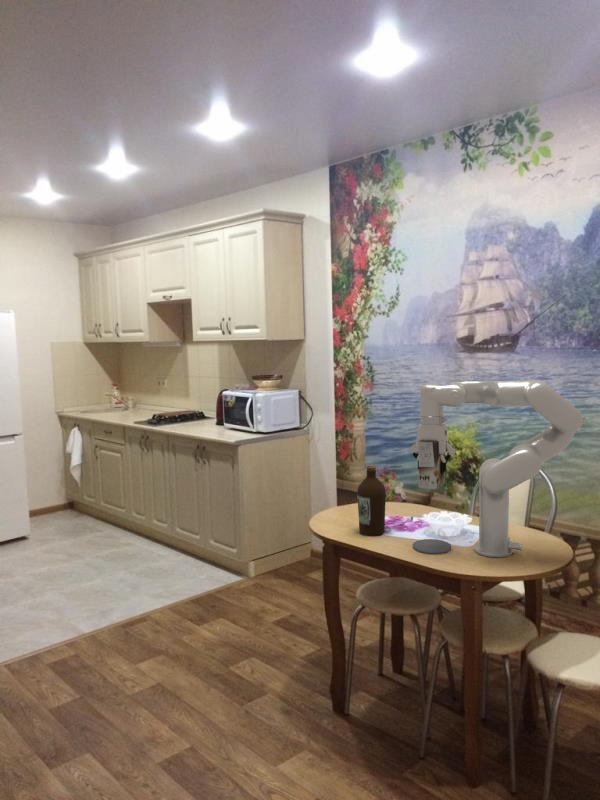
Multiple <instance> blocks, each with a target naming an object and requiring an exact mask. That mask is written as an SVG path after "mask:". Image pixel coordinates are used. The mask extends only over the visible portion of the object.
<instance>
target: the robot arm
mask: <svg viewBox="0 0 600 800" xmlns="http://www.w3.org/2000/svg"><path fill="white" fill-rule="evenodd" d="M419 391H420V392H419V393H420V397H419V398H420V399H419V401H420V402H419V403H420V405H419V407H420V410H419V411H420V413H419V415H420V417H419V418H420V423H419V424H418V425H417V427H418V428H417V433H416V442H415V443H414V444H412V445H411V446H410V447H409V448H408V451H409V452H410V454H411V455H412V456H413V458H415V460H416V461H417V470H418V471H419V441H420V440H425V441H426V440H427V441H439V454H440V458H441V460H442V462H441V474H444V473H445V472H447V461H448V460H449V459H451V458H452V457H453V456H454V454H455V453H456V452H457V450H455V449H454V447H452V446H451V444H449V441H448V439H449V437H448V429H447V425H446V424H444V423H447V422H448V417H445V416H444V407H451V408H457V407H460V406H462V405H464V404H482V405H483V404H485V405H489V406H493V407H497V408H498V407H499V408H500V407H501V408H503V407H504V408H506V407H508V408H509V407H510V408H511V407H532V409H533V410H535V411H536V413H538V414H539V415H540V416H542V417H543V419H545V420H546V421H547V422H548V423H549V424H548V426H547V427H546V428H545V429H544V430H543V431H541V432H540V433H538V434H536V435H535V436H532V437H531V438H528V439H527V440H525V441H524V442H522V443H519V444H518V445H515V446H514V447H513V448H511V450H510V452H509V453H508V454H509V455H507V456H506V457H504V458H502V459H499V458H494V457H493V458H489V459H486V460H485V461H483V463H482V464H481V465H480V467H479V469H478V470H479V471H478V479H479V480H478V481H479V483H478V484H479V485H478V486H479V487H478V491H479V495H478V496H479V497H478V498H479V499H478V500H479V503H478V504H479V506H478V507H479V509H478V514H479V515H478V517H479V518H478V543H476V544H475V545H474V547H473V551H475V553H477V554H479V555H480V556H485V557H489V558H506V557H510V556H511V555H513V554H512V553H514V550H516V551H522V550H523V544H521V543H520V542H517V541H515V542H513V541H512V540H511V537H509V528H510V527H509V524H510V522H509V515H510V514H509V511H510V490H511V489H513V488H515V487H517V486H519V485H521V484H523V483H525V482H526V481H528V480H531V479H532V478H534V477H536V475H537V474H539V472H540V471H541V469H542V466H543V463H545V462H546V461H548V460H550V459H552V458H553V457H555V456H556V455H558V454H561V453H562V451H564V450H565V449H566V448H567V447H568V446H569V445H570V443H571V442H572V440H573V438H574V436H575V435H576V432H577V431H578V430H579V429H580V428H581V427H582V425H583V423H584V420H583V419H584V418H583V415H582V412H581V411H580V410H579V409H578V408H577V407H575V405H573V404H572V403H571V402H570V401H568V400H567V399H565V398H564V397H563V396H562V395H561V394H560V393H558V392H557V391H556V390H555V389H553V387H552V386H551V385H549V384H548V383H547V382H546V381H543V380H540V379H539V380H538V379H533V380H532V379H530V380H528V379H527V380H525V379H524V380H491V381H487V380H486V381H453V382H450V383H448V384H447V385H442V384H436V383H427V384H422V385H421V386H420V390H419ZM448 451H449V453H448V454H447V455H446V453H447V452H448ZM445 474H446V473H445ZM509 555H510V556H509ZM505 556H506V557H505Z"/></svg>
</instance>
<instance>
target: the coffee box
mask: <svg viewBox="0 0 600 800" xmlns="http://www.w3.org/2000/svg"><path fill="white" fill-rule="evenodd" d="M418 454H419V470H418V488H419V489H422V488H423V489H429V490H438V489H439V488H441V486H444V485H446V484H445V483H446V479H445V478H446V477H445V476H446V473H444V474H441V462H442V460H441V458H440V454H439V441H427V440H426V441H425V440H420V441H419V453H418Z"/></svg>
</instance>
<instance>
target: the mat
mask: <svg viewBox="0 0 600 800" xmlns="http://www.w3.org/2000/svg"><path fill="white" fill-rule="evenodd" d="M412 548H413V550H414V551H416V552H418V553H422V554H425V555H443V554H447V553H450V552H451V550H452V544H451V543H450V542H448V541H445V540H443V539H437V538H436V539H434V538H424V539H419V540H416V541H414V542H413V543H412Z"/></svg>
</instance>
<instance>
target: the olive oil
mask: <svg viewBox="0 0 600 800" xmlns="http://www.w3.org/2000/svg"><path fill="white" fill-rule="evenodd" d="M356 491H357V492H356V498H357V510H358V511H357V513H358V529H359V530H358V531H359V534H360V535H363V536H368V537H378V536H383V535H384V534H385V530H386V527H385V525H386V501H387V498H386V496H387V491H386V487H385V485H384V484H383V483H382V481H381V480H379V479H378V477H377V471H376V466H375V465H369V466H366V477H365V478H364V479H363V480H362V481H361V482H360V483H359V485H358V487H357V490H356ZM383 533H384V534H383Z"/></svg>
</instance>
